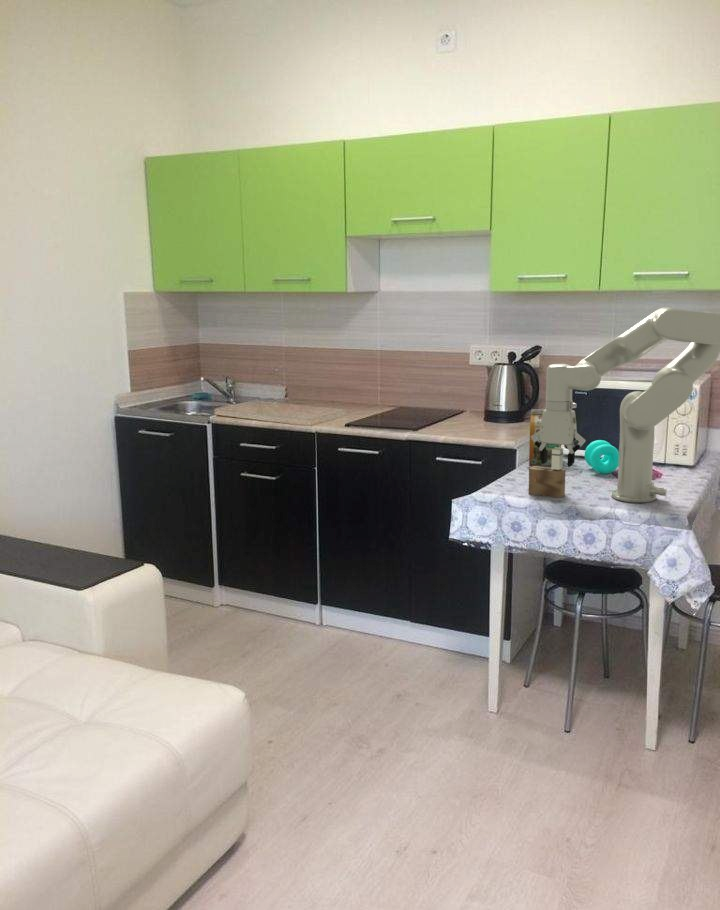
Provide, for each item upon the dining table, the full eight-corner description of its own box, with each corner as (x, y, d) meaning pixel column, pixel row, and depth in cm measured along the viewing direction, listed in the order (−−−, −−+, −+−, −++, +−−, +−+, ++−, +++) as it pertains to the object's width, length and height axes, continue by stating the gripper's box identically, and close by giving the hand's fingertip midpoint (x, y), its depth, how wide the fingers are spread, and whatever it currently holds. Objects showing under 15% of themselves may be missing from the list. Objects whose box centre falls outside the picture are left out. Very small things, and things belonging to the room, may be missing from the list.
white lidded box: (562, 467, 240) (563, 448, 239) (559, 469, 237) (559, 450, 236) (554, 466, 241) (555, 447, 240) (551, 469, 238) (551, 449, 237)
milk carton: (529, 465, 279) (530, 412, 275) (531, 458, 289) (532, 407, 285) (560, 466, 277) (561, 412, 272) (560, 459, 286) (562, 407, 282)
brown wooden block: (564, 494, 242) (565, 468, 240) (560, 498, 238) (561, 471, 236) (533, 490, 247) (533, 465, 245) (528, 494, 243) (528, 468, 242)
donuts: (590, 475, 264) (591, 445, 262) (583, 467, 274) (584, 439, 272) (620, 474, 264) (622, 445, 262) (612, 467, 273) (613, 438, 271)
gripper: (591, 406, 234) (589, 464, 237) (534, 402, 243) (533, 459, 246) (584, 410, 227) (582, 470, 231) (526, 406, 236) (524, 464, 240)
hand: (557, 464), depth 239 cm, fingers open, 7 cm apart
